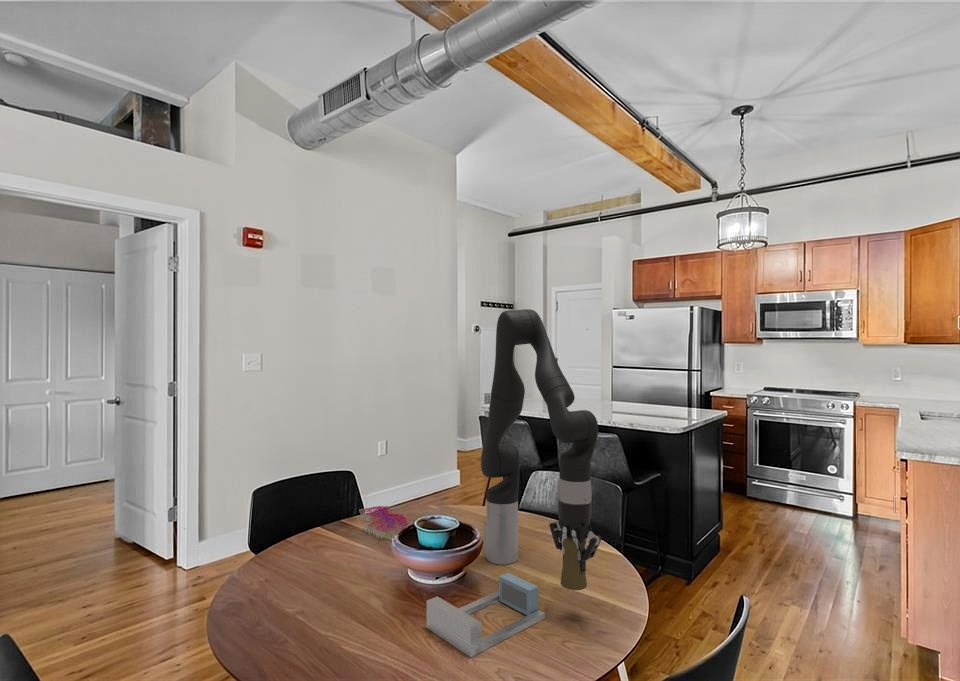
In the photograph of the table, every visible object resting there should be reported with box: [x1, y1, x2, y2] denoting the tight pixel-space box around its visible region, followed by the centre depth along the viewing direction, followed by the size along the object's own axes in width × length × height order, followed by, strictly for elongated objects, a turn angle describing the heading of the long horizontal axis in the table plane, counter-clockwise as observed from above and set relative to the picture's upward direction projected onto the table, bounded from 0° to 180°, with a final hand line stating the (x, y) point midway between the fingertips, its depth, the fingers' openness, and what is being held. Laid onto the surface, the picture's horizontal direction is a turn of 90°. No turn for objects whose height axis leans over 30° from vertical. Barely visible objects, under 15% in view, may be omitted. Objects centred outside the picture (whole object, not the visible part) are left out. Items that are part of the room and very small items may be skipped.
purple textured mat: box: [358, 505, 411, 541], centre depth 182 cm, size 30×15×5 cm, turn 19°
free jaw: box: [498, 572, 539, 616], centre depth 126 cm, size 10×3×6 cm, turn 42°
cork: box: [560, 537, 588, 591], centre depth 121 cm, size 6×6×11 cm
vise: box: [426, 590, 546, 659], centre depth 119 cm, size 15×22×6 cm, turn 132°
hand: (574, 571), depth 121 cm, fingers closed on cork, 3 cm apart
